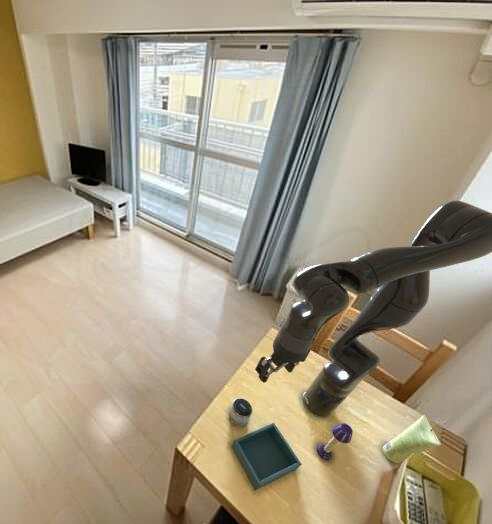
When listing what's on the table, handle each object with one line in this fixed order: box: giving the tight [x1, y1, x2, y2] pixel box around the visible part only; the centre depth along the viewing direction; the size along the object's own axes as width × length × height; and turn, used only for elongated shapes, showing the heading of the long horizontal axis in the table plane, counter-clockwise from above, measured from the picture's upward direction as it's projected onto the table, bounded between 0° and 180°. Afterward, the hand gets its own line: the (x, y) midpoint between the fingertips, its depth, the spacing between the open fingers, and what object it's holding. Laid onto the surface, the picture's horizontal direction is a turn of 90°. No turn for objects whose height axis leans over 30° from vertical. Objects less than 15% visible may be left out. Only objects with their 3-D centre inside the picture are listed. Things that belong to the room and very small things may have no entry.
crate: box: [230, 422, 303, 492], centre depth 88 cm, size 15×12×5 cm
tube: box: [382, 414, 442, 464], centre depth 85 cm, size 6×5×20 cm
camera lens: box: [228, 397, 253, 426], centre depth 97 cm, size 6×6×8 cm
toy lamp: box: [316, 422, 354, 461], centre depth 86 cm, size 5×5×17 cm
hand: (275, 374), depth 81 cm, fingers open, 8 cm apart
